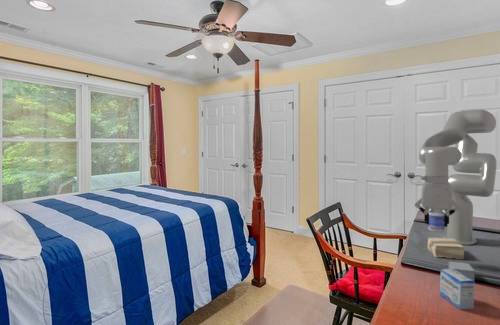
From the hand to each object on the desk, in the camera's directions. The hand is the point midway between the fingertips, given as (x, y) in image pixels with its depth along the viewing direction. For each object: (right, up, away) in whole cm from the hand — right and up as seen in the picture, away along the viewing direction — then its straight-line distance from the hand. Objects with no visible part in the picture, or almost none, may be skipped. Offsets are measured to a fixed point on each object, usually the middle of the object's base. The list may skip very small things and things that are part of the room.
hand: (436, 224), depth 112 cm
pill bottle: (0, -3, 0) cm, 3 cm away
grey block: (+1, -16, -12) cm, 20 cm away
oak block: (+9, -14, +7) cm, 18 cm away
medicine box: (-12, -18, -27) cm, 34 cm away
